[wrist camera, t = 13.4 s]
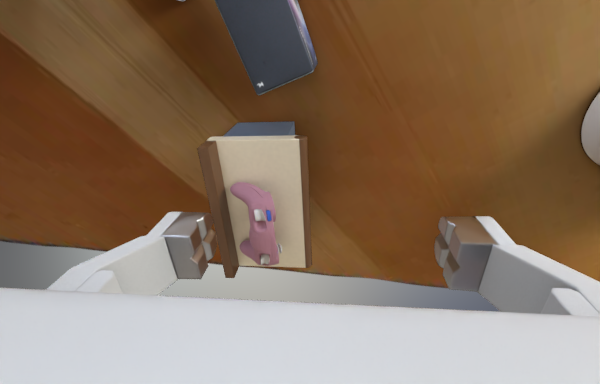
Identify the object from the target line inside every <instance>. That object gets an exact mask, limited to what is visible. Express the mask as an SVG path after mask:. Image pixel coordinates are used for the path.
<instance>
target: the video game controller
mask: <svg viewBox="0 0 600 384" xmlns="http://www.w3.org/2000/svg"><path fill="white" fill-rule="evenodd" d="M230 191H231V193H232V194H233V195H234V196H235V197H237V198H239V199H240V200H242V201H243V202H244V203H245V204H246V205H247V206H248V212H249V221H250V231H249V240H245V241H243V242H242V243H241V244H240V250H241V252H242V253H243V254H244V255H246V256H247V257H249V258H251V259H252V260H253V261H255V262H256V263H257V264H258V265H262V266H271V265H275V264H278V263H279V252H280V253H282V246H281V245H280V244H279V243H278V245H277V244H276V239H275V230H274V224H273V222H275V220H276V211H275V206H274V202H273V199H272V196H271V194H270V192H269V191H268V192H265V191H264V190H262V189H261V188H259V187H257V186H255V185H252V184H250V183H245V182H237V183H235V184H233V185H232V186H231V188H230Z"/></svg>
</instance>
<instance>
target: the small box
mask: <svg viewBox="0 0 600 384" xmlns="http://www.w3.org/2000/svg"><path fill="white" fill-rule="evenodd" d="M215 2H216V4H217V7H218V9H219V11H220V13H221V15H222V18H223V20H224V22H225V24H226V27H227V29H228V31H229V34H230V36H231V38H232V40H233V42H234V45H235V47H236V49H237V51H238V53H239V55H240V58H241V60H242V62H243V65H244V67H245V69H246V71H247V74H248V76H249V78H250V80H251V82H252V85H253V87H254V89H255V91H256V93H257V95H262V94H264V93H266V92H268V91H271V90H273V89H275V88H278V87H280V86H282V85H284V84H287V83H289V82H292V81H294V80H296V79H299V78H301V77H303V76H306V75H308V74H310V73H312V72H313V71H314V69H315V67H316V65H317V64H318V62H317V58H316V55H315V51H314V48H313V45H312V42H311V39H310V36H309V33H308V30H307V27H306V24H305V21H304V18H303V15H302V12H301V10H300V7H299V4H298V1H297V0H215Z"/></svg>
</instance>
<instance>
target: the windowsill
mask: <svg viewBox="0 0 600 384" xmlns="http://www.w3.org/2000/svg"><path fill="white" fill-rule="evenodd" d="M197 149H198V154H199V158H200V163H201V167H202V172H203V177H204V181H205V186H206V190H207V195H208V199H209V204H210V208H211V213H212V218H213V222H214V227H215V231H216V236H217V240H218V245H219V249H220V254H221V259H222V263H223V268H224V272H225V276H226V278H234V277H235V275H236V272H237V270H238V267H239V265H242V266H262V265H258V264H257V263H256V262H255V261H253V260H252V259H251V258H249V257H247V256H246V255H244V254H243V253H242V252H241V250H240V244H241V243H242V242H243V241H245V240H249V231H250V221H249V212H248V206H247V205H246V204H245V203H244V202H243V201H242V200H240V199H239V198H237V197H235V196H234V195H233V194H232V193H231V191H230V188H231V186H232V185H233V184H235V183H237V182H245V183H250V184H252V185H255V186H257V187H259V188H261V189H262V190H264V191H265V192H268V191H269V192H270V194H271V196H272V199H273V202H274V206H275V211H276V220H275V222H273V224H274V230H275V239H276V244H277V245H278V243H279V244H280V245H281V246H282V253H280V252H279V263H278V264H275V265H271V267H300V268H308V267H310V266H311V265H312V249H311V223H310V197H309V171H308V144H307V136H304V135H295V125H294V122H252V123H237V124H236V125H235V126H234V127H233V128H231V129H230V130H229V131H228V132H227V133H226V134H225V135H224V136H223V137H210V138H209V139H208V140H206V141H205V142H204V143H203V144H201V145H200V146H199V147H198V148H197Z"/></svg>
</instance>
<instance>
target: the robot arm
mask: <svg viewBox="0 0 600 384" xmlns="http://www.w3.org/2000/svg"><path fill="white" fill-rule="evenodd" d="M581 140H582V145H583V148H584V150H585V152H586V154H587V155H588V156H589V157H590V159H592V160H593V161H594V162H595V163H597V164H598V165H600V92H599V94H598V95H597V96H596V97H595V99H594V100H593V102H592V103H591V105H590V107H589V109H588V111H587V113H586V115H585V118H584V121H583V124H582V130H581ZM212 225H213V219H212V215H211V214H210V213H197V212H168V213H167V214H166V215H165V216H164V217H163V219H162V220H161V221H160V222H159V223H158V224H157V225H156V226H155V227H154V228H153V229H152V230H151V231H150V232H149V233H148V234H147V235H146V236H141V237H138V238H136V239H134V240H132V241H130V242H127V243H125V244H123V245H121V246H118V247H116V248H114V249H112V250H110V251H107V252H105V253H103V254H101V255H99V256H96V257H94V258H92V259H90V260H87V261H85V262H83V263H81V264H78V265H76V266H75V267H72V268H70V269H69V270H68V271H67V272H66V273H64V274H63V275H62V276H61V277H60V278H59V279H58V280H56V282H54V283H53V284H52V285H51V286H50V287H48V289H46V290H36V289H14V288H0V384H600V282H599V281H596V280H594V279H592V278H590V277H588V276H586V275H584V274H582V273H580V272H577V271H575V270H573V269H571V268H569V267H567V266H565V265H563V264H561V263H558V262H556V261H554V260H552V259H550V258H548V257H546V256H544V255H541V254H539V253H537V252H535V251H533V250H531V249H529V248H527V247H525V246H522V245H516V244H515V243H514V241H513V240H512V239H511V238H510V237H509V236H508V235H507V234H506V232H505V231H504V230H503V229H502V228H501V227H500V226H499V224H498V223H497V222H496V221H495V220H494V219H493V218H492V217H490V216H473V217H441V219H440V221H439V225H438V228H439V230H440V232H441V234H440V235H438V236H437V237H436V239H435V245H434V249H435V257H436V261H437V263H438V265H439V266H441V267H442V268H443V269H444V271H443V276H444V278H445V281H446V283H447V285H448V287H449V289H452V290H467V291H478V293H479V294H480V295H482V296H483V297H484V298H485V299H486V300H488V301H489V302H490V303H491V304H492V305H494V306H495V307H496V308H497V309H498V310H500V311H501V312H493V311H473V310H451V309H431V308H410V307H389V306H368V305H347V304H327V303H306V302H284V301H265V300H243V299H223V298H203V297H181V296H161V295H158V294H160V293H161V292H163V291H164V290H165V289H167V288H168V287H169V286H171V285H172V284H173V283H175V282H176V281H177V280H178V279H201V278H202V276H203V274H204V273H205V271H206V269H207V267H208V263H207V261H208V260H210V259H211V258H213V256H214V254H215V252H216V247H217V237H216V233H215V232H214V231H213V230H212V229H211V227H212Z"/></svg>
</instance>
